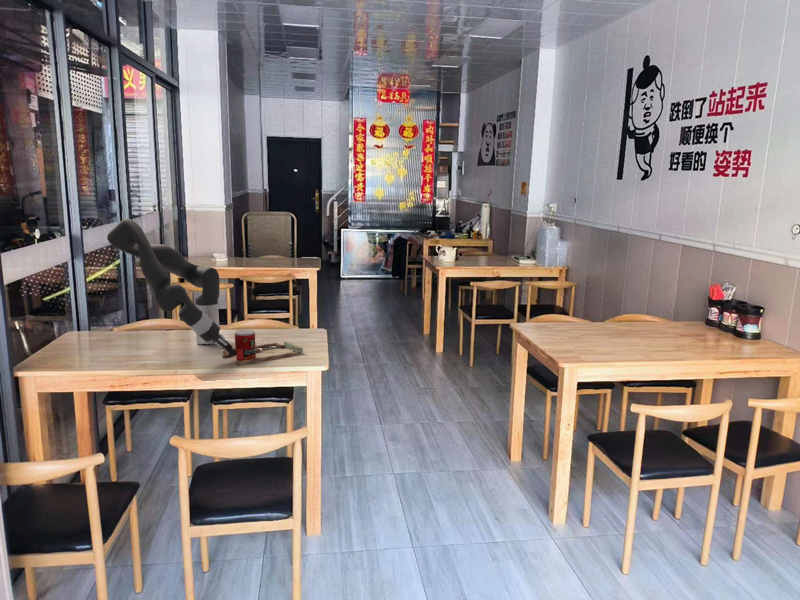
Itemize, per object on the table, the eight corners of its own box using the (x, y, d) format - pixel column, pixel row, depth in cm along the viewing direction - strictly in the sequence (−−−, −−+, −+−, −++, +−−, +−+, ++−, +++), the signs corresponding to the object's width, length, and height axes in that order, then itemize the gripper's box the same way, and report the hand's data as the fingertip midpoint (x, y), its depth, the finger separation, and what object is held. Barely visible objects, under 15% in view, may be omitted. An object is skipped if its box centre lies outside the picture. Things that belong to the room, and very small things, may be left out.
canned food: (245, 362, 232) (244, 334, 230) (231, 359, 236) (230, 332, 234) (260, 358, 239) (259, 331, 237) (245, 355, 243) (244, 328, 241)
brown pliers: (237, 365, 228) (236, 359, 227) (217, 354, 243) (217, 348, 243) (303, 354, 245) (302, 348, 244) (281, 344, 260) (280, 338, 260)
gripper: (190, 330, 229) (221, 357, 238) (203, 338, 218) (235, 366, 228) (204, 315, 231) (234, 343, 241) (217, 322, 221) (248, 351, 230)
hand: (234, 354), depth 234 cm, fingers closed
